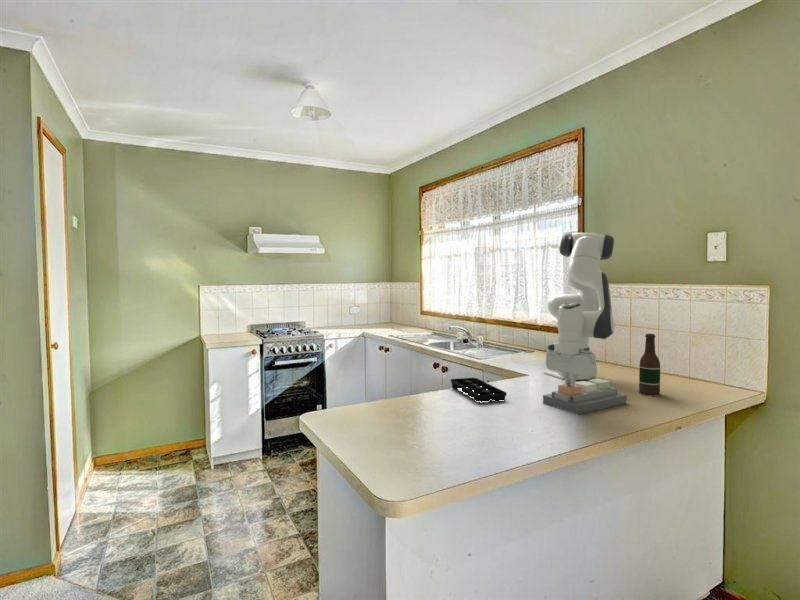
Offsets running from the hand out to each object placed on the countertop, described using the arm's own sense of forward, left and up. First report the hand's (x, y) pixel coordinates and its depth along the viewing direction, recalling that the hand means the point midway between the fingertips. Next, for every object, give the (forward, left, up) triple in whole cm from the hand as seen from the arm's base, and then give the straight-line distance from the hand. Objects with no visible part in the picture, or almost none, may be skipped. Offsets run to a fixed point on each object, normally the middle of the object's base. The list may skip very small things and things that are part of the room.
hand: (570, 385), depth 163 cm
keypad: (0, +8, -8) cm, 11 cm away
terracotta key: (0, 0, -3) cm, 3 cm away
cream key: (0, +8, -3) cm, 9 cm away
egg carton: (-32, -17, -8) cm, 37 cm away
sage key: (0, +16, -3) cm, 16 cm away
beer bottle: (+4, +41, -8) cm, 42 cm away
